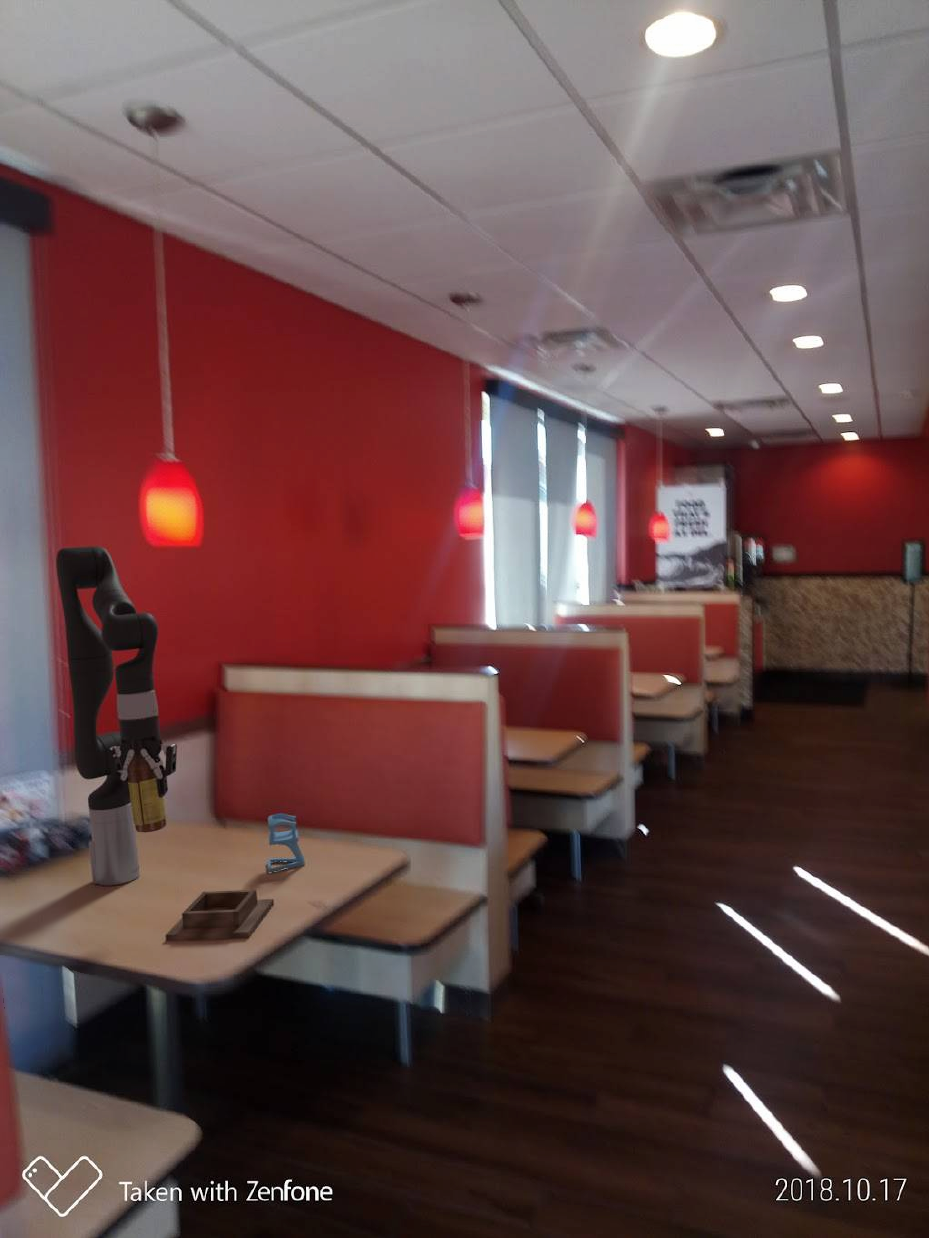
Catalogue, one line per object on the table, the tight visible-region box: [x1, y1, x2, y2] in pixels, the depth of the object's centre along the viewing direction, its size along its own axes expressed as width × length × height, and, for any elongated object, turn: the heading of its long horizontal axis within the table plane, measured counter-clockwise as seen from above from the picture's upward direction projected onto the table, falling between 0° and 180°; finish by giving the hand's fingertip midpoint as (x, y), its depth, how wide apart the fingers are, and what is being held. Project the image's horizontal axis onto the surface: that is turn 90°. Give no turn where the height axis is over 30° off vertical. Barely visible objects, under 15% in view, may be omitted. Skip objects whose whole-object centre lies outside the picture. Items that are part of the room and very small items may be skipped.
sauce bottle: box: [127, 740, 167, 833], centre depth 187 cm, size 7×6×20 cm
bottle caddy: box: [164, 889, 275, 942], centre depth 183 cm, size 16×16×4 cm
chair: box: [267, 813, 306, 873], centre depth 213 cm, size 8×8×12 cm
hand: (146, 796), depth 187 cm, fingers closed on sauce bottle, 6 cm apart
